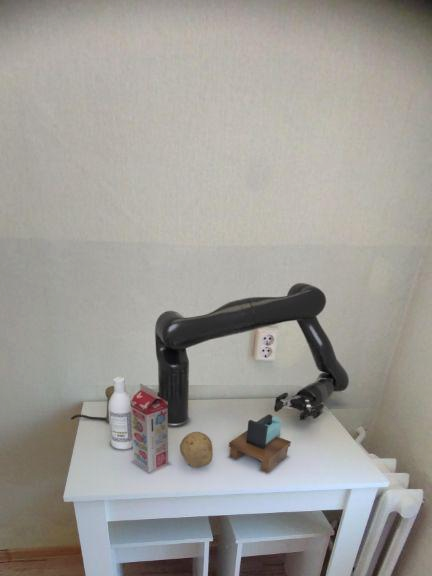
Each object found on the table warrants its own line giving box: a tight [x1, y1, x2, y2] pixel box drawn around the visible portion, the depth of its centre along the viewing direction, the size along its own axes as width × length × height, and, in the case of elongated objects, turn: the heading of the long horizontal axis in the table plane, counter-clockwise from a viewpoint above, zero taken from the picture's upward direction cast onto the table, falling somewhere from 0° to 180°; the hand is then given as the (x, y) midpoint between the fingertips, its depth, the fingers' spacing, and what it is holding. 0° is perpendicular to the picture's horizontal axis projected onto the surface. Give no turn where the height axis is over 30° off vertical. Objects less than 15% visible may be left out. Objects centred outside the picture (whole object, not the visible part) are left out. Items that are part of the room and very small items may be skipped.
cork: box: [104, 385, 114, 425], centre depth 143 cm, size 6×6×11 cm
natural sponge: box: [179, 431, 214, 468], centre depth 124 cm, size 9×9×10 cm
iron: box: [246, 414, 282, 449], centre depth 129 cm, size 12×6×7 cm, turn 144°
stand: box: [228, 430, 291, 474], centre depth 131 cm, size 12×13×5 cm
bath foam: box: [108, 376, 133, 450], centre depth 128 cm, size 7×7×20 cm
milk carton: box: [130, 383, 169, 473], centre depth 120 cm, size 7×7×22 cm
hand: (288, 413), depth 138 cm, fingers open, 8 cm apart
